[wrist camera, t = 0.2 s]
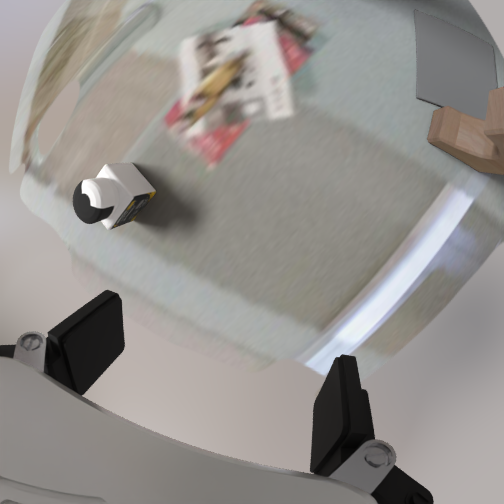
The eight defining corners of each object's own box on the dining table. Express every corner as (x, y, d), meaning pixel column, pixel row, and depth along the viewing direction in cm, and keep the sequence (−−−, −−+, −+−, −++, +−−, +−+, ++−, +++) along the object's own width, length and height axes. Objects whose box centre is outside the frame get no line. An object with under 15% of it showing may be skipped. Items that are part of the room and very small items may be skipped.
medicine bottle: (133, 221, 45) (87, 239, 34) (109, 192, 44) (60, 203, 33) (157, 191, 43) (112, 202, 31) (131, 161, 42) (82, 164, 31)
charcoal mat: (413, 10, 26) (414, 9, 25) (490, 46, 24) (492, 45, 23) (416, 97, 31) (417, 97, 31) (495, 131, 29) (497, 130, 28)
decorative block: (425, 141, 33) (507, 130, 14) (433, 108, 31) (513, 79, 12) (478, 173, 32) (565, 189, 13) (486, 142, 30) (571, 142, 11)
